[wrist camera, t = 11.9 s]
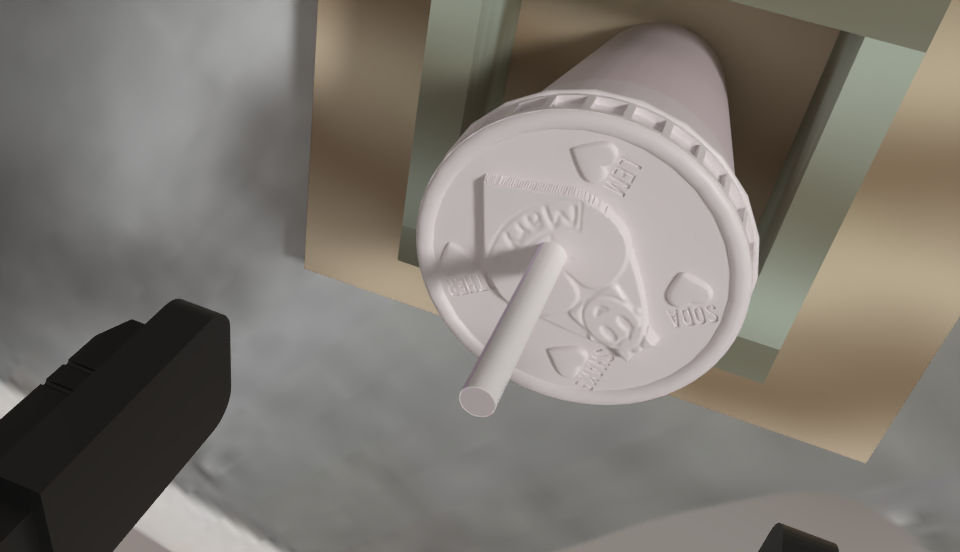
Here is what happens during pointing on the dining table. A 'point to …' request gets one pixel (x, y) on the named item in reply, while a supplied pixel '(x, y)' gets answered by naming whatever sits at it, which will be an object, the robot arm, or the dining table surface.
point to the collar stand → (757, 163)
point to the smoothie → (595, 229)
